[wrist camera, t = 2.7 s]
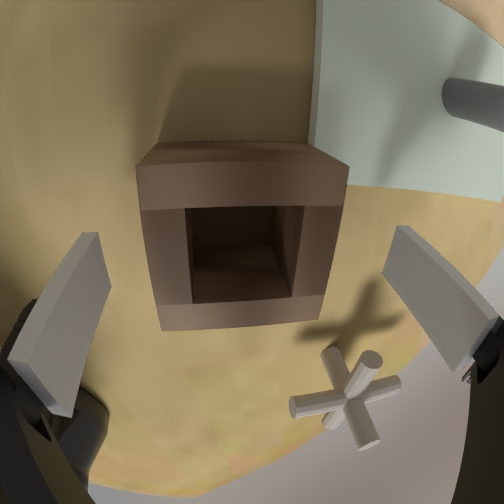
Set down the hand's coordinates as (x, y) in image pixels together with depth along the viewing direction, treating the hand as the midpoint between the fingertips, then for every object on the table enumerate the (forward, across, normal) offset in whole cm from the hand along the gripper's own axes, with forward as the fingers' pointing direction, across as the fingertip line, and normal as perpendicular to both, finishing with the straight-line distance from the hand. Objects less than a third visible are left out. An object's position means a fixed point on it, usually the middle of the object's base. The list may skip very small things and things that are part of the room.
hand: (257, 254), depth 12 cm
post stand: (+5, +13, +9) cm, 17 cm away
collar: (+5, -1, 0) cm, 5 cm away
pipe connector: (+5, +8, -14) cm, 17 cm away
